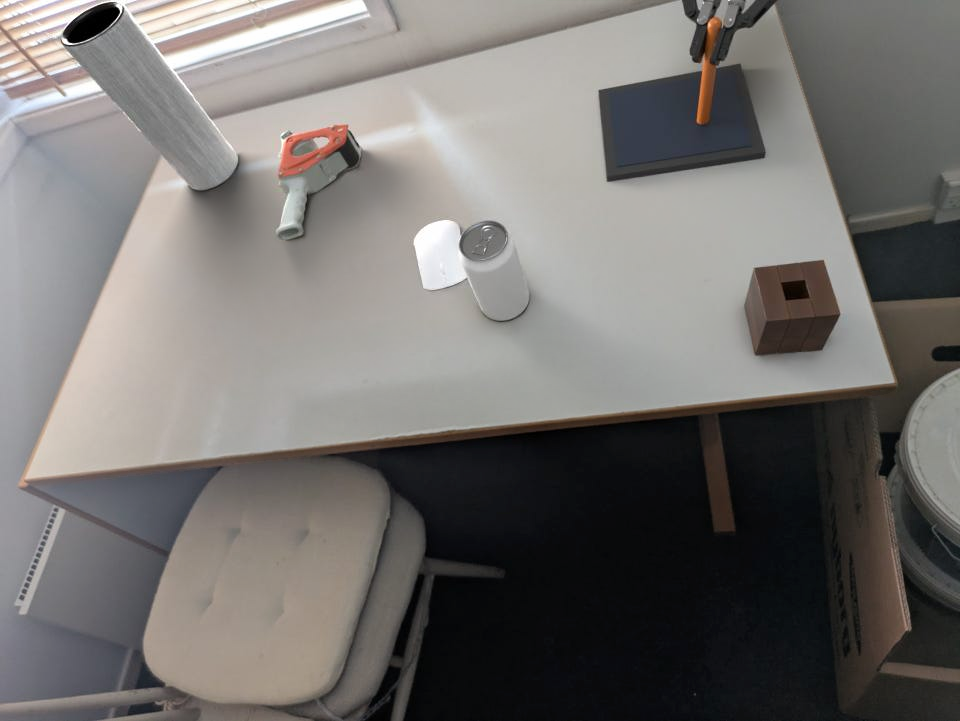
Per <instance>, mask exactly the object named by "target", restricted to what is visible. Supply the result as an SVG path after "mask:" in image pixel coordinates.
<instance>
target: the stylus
mask: <svg viewBox="0 0 960 721" xmlns="http://www.w3.org/2000/svg"><path fill="white" fill-rule="evenodd" d="M720 28H723V21H722V19H721V18H720V17H718V16H715V17H714V18H712V19H711V20H710V21H709V22H708V26H707V35H706V44H705V52H704V56H703V60H702V62H703V63H702V70H701V71H702V78H701V87H700V96H699V105H698V114H697V123H698V124H701V125H704V124H707V123H708V122H709V118H710V110H711V103H712V96H713V88H714V81H715V73H716V68H717V66H714V65H711V64H710V58H711V55H712V51H713V48H714V45H715V42H716V39H717V36H718V32H719V29H720Z"/></svg>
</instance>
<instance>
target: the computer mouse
mask: <svg viewBox="0 0 960 721" xmlns="http://www.w3.org/2000/svg"><path fill="white" fill-rule="evenodd" d="M461 235H462V234H461V229H460V225H459V224H458V223H457V222H456V221H452V220H450V219H444V220H443V219H442V220H437V221H435V222H431V223H429V224H427V225H426V226H424V227H422V229H420V230H419V231H418V233H417V234H416V236H415V238H414V240H413V246H414V249H415V255H416V260H417V264H418V269H419V274H420V280H421V283H422V287H423V289H425V290H428V291H439V290H442V289H446V288H450V287H453V286H455V285H457V284H459V283H461V282H464V280H466V279H468V278H467V276H466V273H465V271H464V269H463V266H462V264H461V261H460V258H459V239H460V237H461Z"/></svg>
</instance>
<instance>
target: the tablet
mask: <svg viewBox="0 0 960 721" xmlns="http://www.w3.org/2000/svg"><path fill="white" fill-rule="evenodd" d="M701 78H702V70H698V71H697V70H696V71H692V72H687V73H682V74H677V75H670V76H666V77H661V78H655V79H648V80H643V81H639V82H634V83H628V84H622V85H618V86H612V87H607V88H602V89H601V88H600V89H598V90H597V92H598V103H599V113H600V123H601V133H602V144H603V153H604V155H603V156H604V164H605V175H606V182H612V181H613V182H614V181H619V180H625V179H626V180H627V179H633V178H639V177H645V176H646V177H647V176H652V175H658V174H665V173H672V172H680V171H687V170H693V169H700V168H705V167H711V166H712V167H713V166H719V165H726V164H732V163H739V162H744V161H745V162H746V161H752V160H758V159H765V157H766V154H767V153H766V152H767V151H766V148H765V144H764V141H763V137H762V133H761V130H760V127H759V123H758V119H757V116H756V113H755V109H754V105H753V102H752V99H751V95H750V92H749V88H748V85H747V84H748V83H747V81H746V78H745V74H744V69H743V66H742V63H735V64H730V65H725V66H720V67H719V66H718V67H716V73H715V81H714V88H713V96H712V103H711V110H710V118H709V122H708V123H707V124H704V125H701V124H698V123H697V114H698V105H699V96H700V87H701Z"/></svg>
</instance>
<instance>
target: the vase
mask: <svg viewBox="0 0 960 721" xmlns="http://www.w3.org/2000/svg"><path fill="white" fill-rule="evenodd" d="M60 43H61V44H60V45H61V46H62V47H63V48H64V49H65V50H66V51H67V52H68V54H70V55H71V57H72V58H73V59H74V60H75V61H76V62H77V63H78V64H79V65H80V67H81V68H82V69H83V71H85V72H86V74H88V76H90V78H91V79H92V80H93V82H95V84H97V86H99V88H100V89H101V90H102V92H104V94H106V95H107V96H108V98H109V99H110V100H111V101H112V102H113V104H115V106H116V107H117V108H118V109H119V110H120V111H121V112H122V114H123V115H125V117H126V118H127V119H128V120H129V121H130V122H131V123H132V124H133V125H134V127H135V128H136V129H137V130H138V132H140V133H141V134H142V135H143V137H144V138H145V139H146V140H147V141H148V142H149V143H150V144H151V146H152V147H153V148H154V149H155V150H156V151H157V153H159V155H160V156H161V157H162V158H163V159H164V160H165V162H167V163H168V164H169V165H170V167H171V168H172V169H173V170H174V171H175V172H176V173H177V175H178V176H180V178H181V179H182V180H183V181H184V182H185V183H186V184H187V186H188V187H190V188H191V189H193V190H196V191H205V190H206V191H207V190H209V189H214V188H216V187H217V186H219V185H222V184H223V183H224V182H226V180H228V179H229V178H230V177H231V176H232V175H233V174H234V172H235V170H236V168H237V166H238V163H239V157H238V154H237V153H236V151H235V149H234V148H233V147H232V145H231V144H230V143H229V142H228V140H227V139H226V137H225V136H224V135H223V133H222V132H221V131H220V130H219V128H218V127H217V126H216V124H215V123H214V122H213V120H212V119H211V117H209V116H210V115H208V114H207V112H206V111H205V109H204V108H203V107H202V106H201V105H200V103H199V101H198V100H197V99H196V98H195V96H194V95H193V93H191V91H190V90H189V89H188V88H187V86H186V84H185V83H184V82H183V81H182V79H181V78H180V77H179V76H178V74H177V73H176V71H175V70H174V69H173V67H172V66H171V65H170V63H169V62H168V60H166V58H165V57H164V55H163V54H162V53H161V51H160V50H159V49H158V48H157V46H156V45H155V44H154V42H153V41H152V40H151V38H150V37H149V36H148V35H147V33H146V32H145V30H144V29H143V28H142V27H141V25H140V24H139V23H138V21H137V20H136V19H135V17H134V16H133V14H132V13H131V12H130V10H129V9H128V8H127V7H126V5H125V4H124V3H122V2H120V1H116V0H110V1H104V2H101V3H98V4H95V5H93V6H91V7H88V8H87V9H85V10H84V11H82V12H80V13H79V14H77V15H76V16H75V17H74V18H72V20H70V21H69V22H68V23H67V24H66V26H64V28H63V30H62V32H61V34H60Z"/></svg>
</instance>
